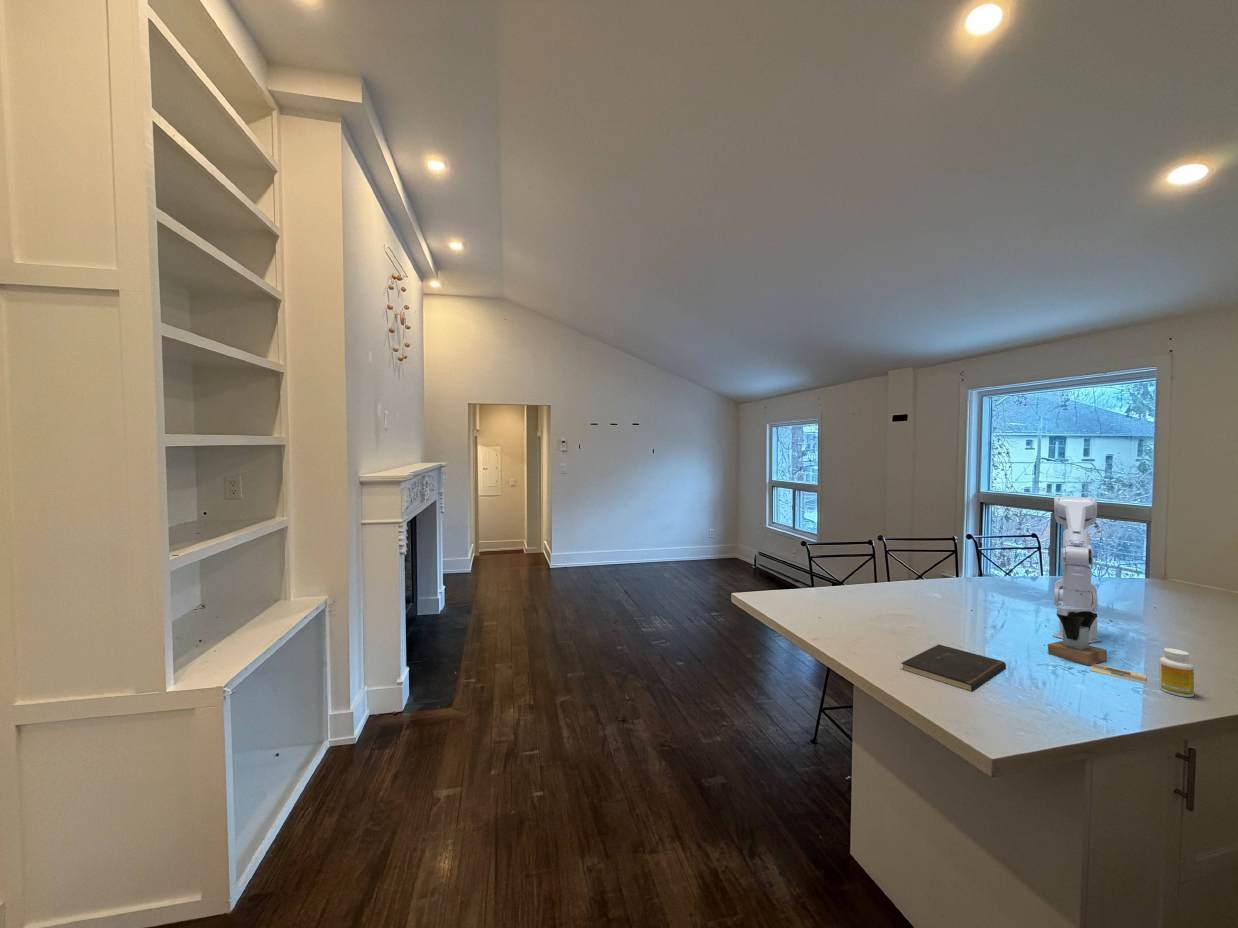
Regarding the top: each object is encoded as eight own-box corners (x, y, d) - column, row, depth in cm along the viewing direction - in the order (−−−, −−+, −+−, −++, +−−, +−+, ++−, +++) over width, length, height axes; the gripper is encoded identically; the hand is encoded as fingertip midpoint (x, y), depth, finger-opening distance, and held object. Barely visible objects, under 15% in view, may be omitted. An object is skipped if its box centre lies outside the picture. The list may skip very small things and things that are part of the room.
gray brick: (1071, 642, 140) (1070, 623, 140) (1089, 647, 136) (1088, 627, 136) (1063, 644, 138) (1062, 625, 139) (1080, 649, 135) (1079, 629, 135)
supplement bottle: (1198, 699, 112) (1198, 657, 113) (1164, 693, 115) (1164, 652, 115) (1188, 690, 117) (1187, 649, 117) (1155, 685, 120) (1155, 645, 120)
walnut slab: (1067, 650, 143) (1066, 639, 143) (1107, 660, 135) (1106, 649, 135) (1048, 654, 140) (1047, 643, 140) (1087, 665, 131) (1087, 653, 131)
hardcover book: (901, 671, 129) (901, 662, 129) (938, 652, 142) (938, 644, 142) (972, 694, 116) (972, 684, 116) (1006, 670, 129) (1006, 661, 129)
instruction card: (1092, 663, 133) (1092, 662, 133) (1146, 675, 125) (1146, 674, 125) (1089, 670, 128) (1089, 669, 128) (1145, 683, 121) (1145, 682, 121)
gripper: (1074, 584, 144) (1074, 630, 144) (1044, 588, 138) (1044, 636, 138) (1105, 589, 137) (1105, 638, 137) (1074, 594, 132) (1075, 645, 132)
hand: (1076, 638), depth 137 cm, fingers closed on gray brick, 4 cm apart
